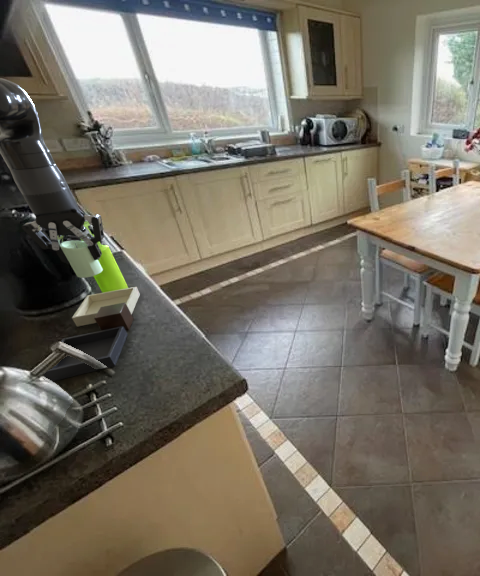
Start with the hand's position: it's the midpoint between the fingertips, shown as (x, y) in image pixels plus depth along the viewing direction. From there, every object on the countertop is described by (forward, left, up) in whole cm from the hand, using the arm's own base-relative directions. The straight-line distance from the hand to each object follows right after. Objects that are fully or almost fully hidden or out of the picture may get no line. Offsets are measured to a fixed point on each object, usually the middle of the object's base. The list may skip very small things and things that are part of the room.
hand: (83, 260), depth 78 cm
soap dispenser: (-1, +11, -14) cm, 18 cm away
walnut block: (+4, -10, -14) cm, 18 cm away
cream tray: (0, 0, -14) cm, 14 cm away
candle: (0, 0, -4) cm, 4 cm away
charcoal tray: (+1, -20, -14) cm, 25 cm away
